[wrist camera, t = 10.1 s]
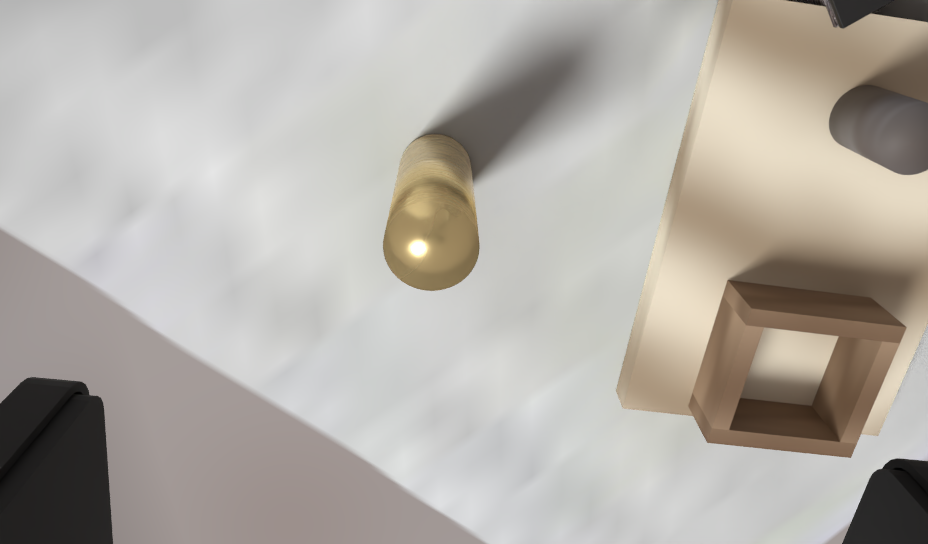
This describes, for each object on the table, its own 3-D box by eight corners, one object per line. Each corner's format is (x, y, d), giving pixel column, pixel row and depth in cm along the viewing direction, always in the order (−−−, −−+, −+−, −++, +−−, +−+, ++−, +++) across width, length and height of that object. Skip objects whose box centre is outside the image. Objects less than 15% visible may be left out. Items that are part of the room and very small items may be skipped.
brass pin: (403, 129, 24) (388, 195, 18) (476, 139, 24) (486, 208, 18) (396, 198, 25) (378, 284, 19) (465, 207, 25) (472, 295, 19)
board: (721, -10, 23) (777, -1, 19) (1024, 37, 23) (1137, 54, 20) (616, 390, 28) (642, 459, 25) (861, 417, 29) (924, 488, 25)
